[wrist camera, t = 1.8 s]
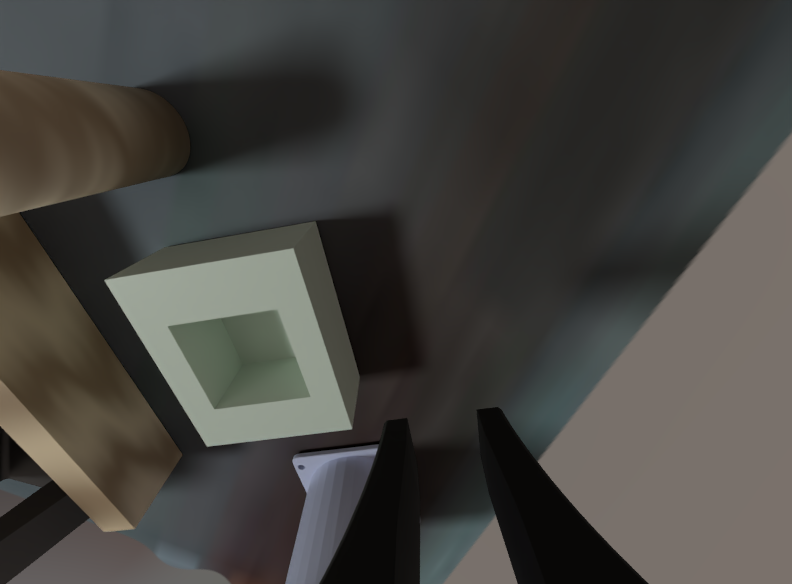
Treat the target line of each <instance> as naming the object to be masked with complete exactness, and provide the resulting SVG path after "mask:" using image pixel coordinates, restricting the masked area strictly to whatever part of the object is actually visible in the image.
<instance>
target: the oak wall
mask: <svg viewBox="0 0 792 584" xmlns="http://www.w3.org/2000/svg"><path fill="white" fill-rule="evenodd" d="M0 426H1V427H2V428H3V429H4V430H5V431H6V432H7V433H8V434H9V436H10V437H11V438H12V439H13V440H14V441H15V442H16V443H17V444H18V445H19V446H20V447H21V448H22V449H23V450H24V451H25V452H26V453H27V454H28V455H29V456H30V457H31V458H32V459H33V460H34V461H35V462H36V463H37V464H38V465H39V466H40V467H41V468H42V469H43V470H44V471H45V472H46V473H47V474H48V475H49V476H50V477H51V478H52V479H53V480H54V481H55V482H56V483H57V484H58V486H59V487H60V488H61V489H62V490H63V491H64V492H65V493H66V494H67V495H68V496H69V497H70V498H71V499H72V500H73V501H74V502H75V503H76V504H77V505H78V506H79V507H80V508H81V509H82V510H83V511H84V512H85V513H86V514H87V515H88V516H89V517H90V518H91V519H92V520H93V521H94V522H95V523H96V524H97V525H98V526H99V527H100V528H101V529H102V530H103V531H104V532H109V531H119V530H129V529H135V528H136V526H137V525H138V523H139V522H140V520H141V519H142V517H143V516H144V514H145V512H146V511H147V509H148V508H149V506H150V505H151V503H152V502H153V500H154V499H155V497H156V495H157V494H158V492H159V491H160V489H161V488H162V486H163V485H164V483H165V481H166V480H167V478H168V477H169V475H170V474H171V472H172V471H173V469H174V468H175V466H176V464H177V463H178V461H179V460H180V458H181V457H182V455H183V454H182V453H181V451H180V450H179V449H178V447H177V446H176V444H175V443H174V441H173V440H172V438H171V437H170V435H169V434H168V432H167V431H166V429H165V428H164V426H163V425H162V423H161V422H160V420H159V419H158V417H157V416H156V414H155V413H154V412H153V410H152V409H151V407H150V406H149V404H148V403H147V401H146V400H145V398H144V397H143V395H142V394H141V392H140V391H139V389H138V388H137V386H136V385H135V383H134V382H133V380H132V379H131V378H130V376H129V375H128V373H127V372H126V370H125V369H124V367H123V366H122V364H121V363H120V361H119V360H118V358H117V357H116V355H115V354H114V352H113V351H112V349H111V348H110V346H109V345H108V343H107V342H106V341H105V339H104V338H103V336H102V335H101V333H100V332H99V330H98V329H97V327H96V326H95V324H94V323H93V321H92V320H91V318H90V317H89V315H88V314H87V312H86V311H85V309H84V308H83V307H82V305H81V304H80V302H79V301H78V299H77V298H76V296H75V295H74V293H73V292H72V290H71V289H70V287H69V286H68V284H67V283H66V281H65V280H64V278H63V277H62V275H61V274H60V272H59V271H58V270H57V268H56V267H55V265H54V264H53V262H52V261H51V259H50V258H49V256H48V255H47V253H46V252H45V250H44V249H43V247H42V246H41V244H40V243H39V241H38V240H37V238H36V237H35V236H34V234H33V233H32V231H31V230H30V228H29V227H28V225H27V224H26V222H25V221H24V219H23V218H22V216H21V215H20V213H19V212H18V213H14V214H10V215H6V216H1V217H0Z"/></svg>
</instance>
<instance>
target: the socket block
mask: <svg viewBox="0 0 792 584" xmlns="http://www.w3.org/2000/svg"><path fill="white" fill-rule="evenodd" d="M104 281H105V282H106V284H107V286H108V287H109V289H110V291H111V292H112V294H113V295H114V297H115V299H116V300H117V302H118V303H119V305H120V307H121V308H122V310H123V312H124V313H125V315H126V316H127V318H128V320H129V321H130V323H131V325H132V326H133V328H134V329H135V331H136V333H137V334H138V336H139V337H140V339H141V341H142V342H143V344H144V346H145V347H146V349H147V350H148V352H149V354H150V355H151V357H152V358H153V360H154V362H155V363H156V365H157V367H158V368H159V370H160V371H161V373H162V375H163V376H164V378H165V379H166V381H167V383H168V384H169V386H170V388H171V389H172V391H173V392H174V394H175V396H176V397H177V399H178V401H179V402H180V404H181V405H182V407H183V409H184V410H185V412H186V413H187V415H188V417H189V418H190V420H191V422H192V423H193V425H194V426H195V428H196V430H197V431H198V433H199V434H200V436H201V438H202V439H203V441H204V443H205V444H206V446H207V447H209V446H217V445H226V444H234V443H242V442H250V441H258V440H267V439H275V438H283V437H291V436H300V435H308V434H316V433H324V432H332V431H341V430H349V429H352V427H353V420H354V413H355V406H356V400H357V393H358V386H359V379H360V376H359V372H358V369H357V365H356V362H355V358H354V355H353V351H352V348H351V344H350V341H349V337H348V334H347V330H346V327H345V323H344V320H343V316H342V312H341V309H340V305H339V302H338V298H337V295H336V291H335V288H334V284H333V281H332V277H331V274H330V270H329V267H328V263H327V260H326V256H325V253H324V249H323V246H322V242H321V239H320V235H319V231H318V228H317V224H316V221H314V222H308V223H303V224H297V225H291V226H285V227H279V228H274V229H268V230H262V231H256V232H251V233H245V234H239V235H233V236H228V237H222V238H216V239H210V240H205V241H199V242H193V243H187V244H181V245H176V246H170V247H164V248H163V249H161V250H159V251H157V252H155V253H153V254H152V255H150V256H148V257H146V258H144V259H142V260H140V261H139V262H137V263H135V264H133V265H131V266H129V267H127V268H126V269H124V270H122V271H120V272H118V273H116V274H114V275H113V276H111V277H109V278H107V279H105V280H104Z"/></svg>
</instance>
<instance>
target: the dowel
mask: <svg viewBox="0 0 792 584" xmlns="http://www.w3.org/2000/svg"><path fill="white" fill-rule="evenodd" d="M189 155H190V138H189V133H188V130H187V128H186V125H185V123H184V121H183V119H182V118H181V116H180V115H179V113H178V112H177V111H176V110H175V108H174V107H173V106H172V105H171V104H170V103H169V102H167V101H166V100H165V99H164V98H162V97H161V96H159V95H157V94H156V93H153V92H151V91H148V90H145V89H140V88H133V87H125V86H118V85H110V84H102V83H95V82H87V81H79V80H72V79H64V78H56V77H49V76H41V75H33V74H26V73H18V72H10V71H3V70H0V217H1V216H6V215H10V214H14V213H18V212H22V211H26V210H31V209H35V208H39V207H43V206H47V205H52V204H56V203H60V202H64V201H68V200H72V199H77V198H81V197H85V196H89V195H93V194H97V193H102V192H106V191H110V190H114V189H118V188H123V187H127V186H131V185H135V184H139V183H143V182H148V181H152V180H156V179H160V178H164V177H168V176H172V175H174V174H176V173H178V172H179V171H181V170H182V169H183V168H184V166H185V165H186V163H187V161H188V159H189Z"/></svg>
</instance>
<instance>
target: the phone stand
mask: <svg viewBox="0 0 792 584" xmlns="http://www.w3.org/2000/svg"><path fill="white" fill-rule="evenodd" d="M4 479H13V480H17V481H21V482H24V483H28V484H32V485H35V486H39V487H42V488H40V489H39V490H38V491H36V492H35V493H33V494H32V495H31V496H29V497H28V498H27V499H25V500H24V501H23V502H21V503H20V504H18V505H17V506H16V507H14V508H13V509H11V510H10V511H9V512H7V513H6V514H4V515H3V516H2V517H0V584H6V583H7V582H9V581H10V580H11V579H12V578H13V577H15V576H16V575H18V574H19V573H20V572H21V571H23V570H24V569H25V568H26V567H27V566H29V565H30V564H31V563H33V562H34V561H35V560H37V559H38V558H39V557H40V556H42V555H43V554H44V553H45V552H47V551H48V550H49V549H50V548H52V547H53V546H54V545H56V544H57V543H58V542H59V541H61V540H62V539H63V538H64V537H66V536H67V535H68V534H70V533H71V532H72V531H73V530H75V529H76V528H77V527H78V526H80V525H81V524H82V523H84V522H85V521H86V520H87V519H89V518H90V517H89V516H88V515H87V514H86V513H85V512H84V511H83V510H82V509H81V508H80V507H79V506H78V505H77V504H76V503H75V502H74V501H73V500H72V499H71V498H70V497H69V496H68V495H67V494H66V493H65V492H64V491H63V490H62V489H61V488H60V487H59V486H58V484H57V483H56V482H55V481H54V480H53V479H52V478H51V477H50V476H49V475H48V474H47V473H46V472H45V471H44V470H43V469H42V468H41V467H40V466H39V465H38V464H37V463H36V462H35V461H34V460H33V459H32V458H31V457H30V456H29V455H28V454H27V453H26V452H25V451H24V450H23V449H22V448H21V447H20V446H19V445H18V444H17V443H16V442H15V441H14V440H13V439H12V438H11V437H10V436H9V434H8V433H7V432H6V431H5V430H4V429H3V428H2V427H1V426H0V481H2V480H4Z"/></svg>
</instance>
